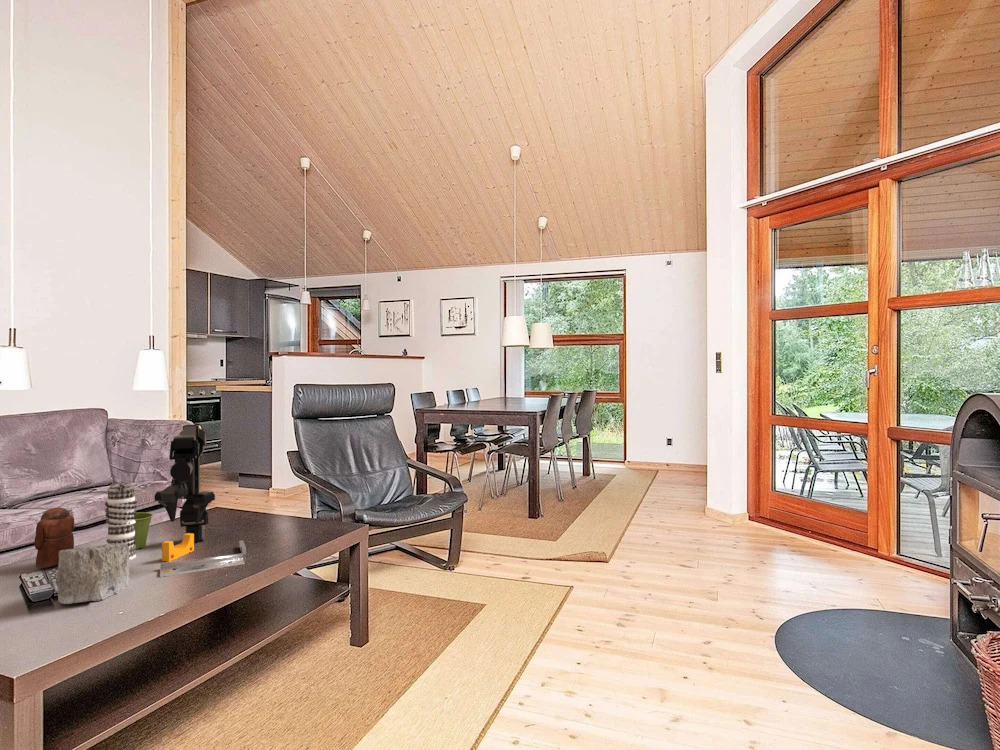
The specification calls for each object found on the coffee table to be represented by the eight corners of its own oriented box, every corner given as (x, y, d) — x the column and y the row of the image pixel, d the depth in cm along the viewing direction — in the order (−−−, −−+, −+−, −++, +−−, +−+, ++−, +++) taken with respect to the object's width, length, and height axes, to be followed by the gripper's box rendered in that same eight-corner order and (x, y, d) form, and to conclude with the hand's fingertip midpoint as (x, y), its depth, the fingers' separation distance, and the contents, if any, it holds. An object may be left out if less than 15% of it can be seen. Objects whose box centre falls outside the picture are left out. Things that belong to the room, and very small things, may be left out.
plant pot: (118, 554, 210) (118, 521, 210) (111, 547, 219) (111, 515, 219) (156, 548, 218) (156, 516, 218) (149, 541, 227) (149, 510, 227)
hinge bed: (161, 558, 205) (161, 550, 205) (243, 548, 217) (243, 540, 217) (159, 577, 187) (159, 567, 187) (248, 564, 199) (248, 555, 199)
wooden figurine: (58, 557, 207) (58, 504, 207) (76, 557, 206) (76, 504, 206) (29, 568, 195) (29, 512, 195) (48, 569, 195) (48, 512, 195)
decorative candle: (118, 563, 200) (118, 487, 200) (98, 561, 203) (98, 485, 203) (143, 556, 208) (143, 482, 208) (123, 553, 212) (123, 480, 211)
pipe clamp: (183, 551, 215) (183, 532, 215) (194, 552, 214) (193, 533, 214) (157, 561, 203) (157, 542, 203) (169, 562, 202) (169, 542, 202)
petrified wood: (120, 577, 186) (119, 528, 186) (143, 590, 175) (142, 538, 175) (45, 595, 172) (45, 542, 172) (65, 610, 161) (65, 553, 161)
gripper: (141, 478, 195) (141, 527, 195) (192, 480, 191) (192, 530, 191) (166, 472, 206) (167, 518, 206) (215, 474, 202) (216, 521, 202)
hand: (184, 522), depth 201 cm, fingers open, 9 cm apart
